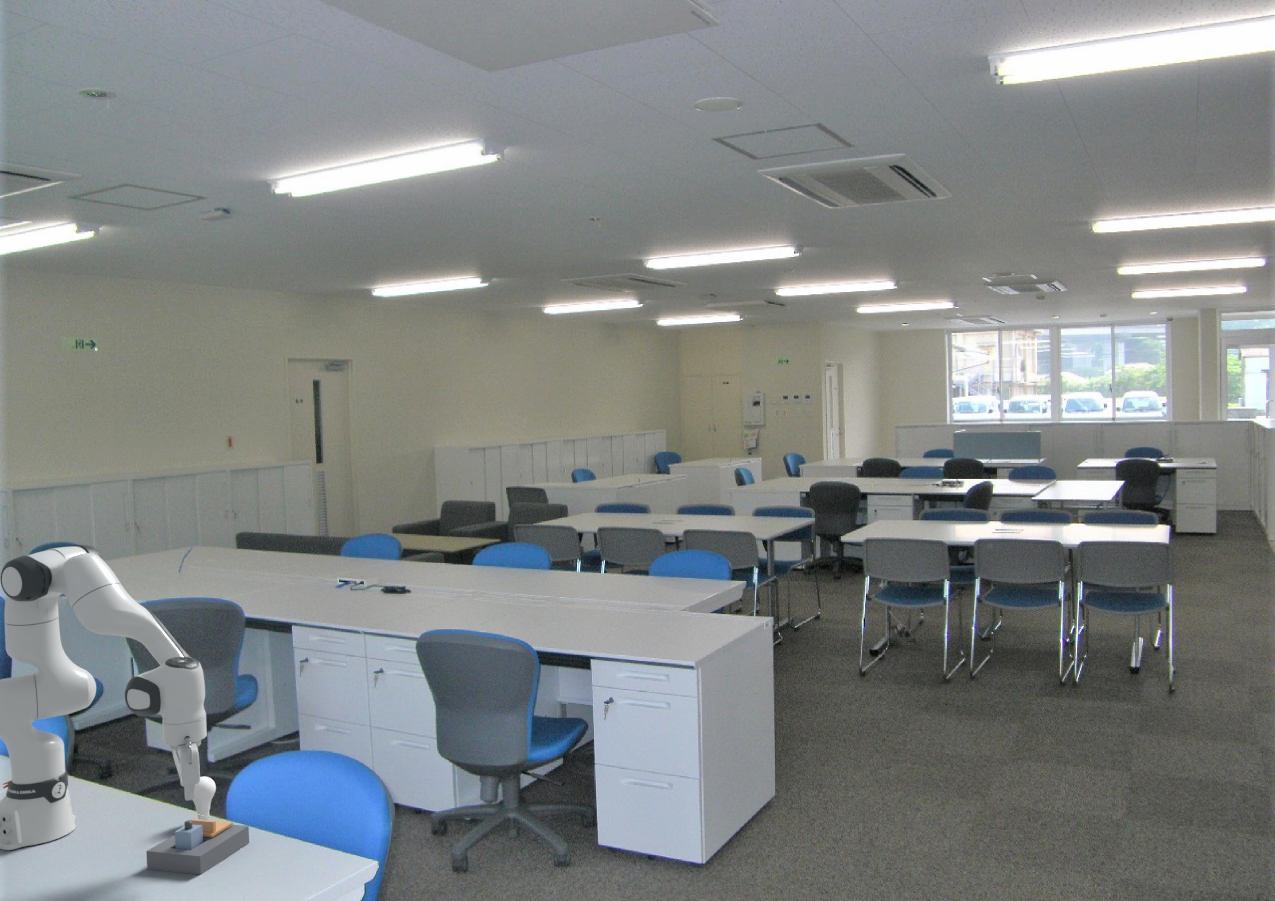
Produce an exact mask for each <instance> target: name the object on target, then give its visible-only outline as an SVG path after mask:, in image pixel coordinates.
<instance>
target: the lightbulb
mask: <svg viewBox="0 0 1275 901" xmlns="http://www.w3.org/2000/svg"><path fill="white" fill-rule="evenodd" d="M216 789H217V786H216V783H215V781H214V780H213V779H212V778H211V777H209V776H205V775H204V776H200V782H199V783H198V784H195V789H194V799H193V800H192V802H193V803H194V807H195V812H196V813H197V819H201V820H209V818H208V817H207V816H209V817H210V810H211V803H212V799H213V797H214V796H215V794H216ZM198 814H200V815H198ZM201 815H204V816H201ZM205 816H206V817H205Z"/></svg>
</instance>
